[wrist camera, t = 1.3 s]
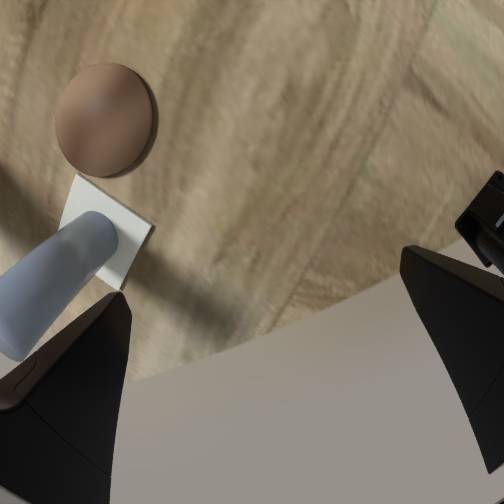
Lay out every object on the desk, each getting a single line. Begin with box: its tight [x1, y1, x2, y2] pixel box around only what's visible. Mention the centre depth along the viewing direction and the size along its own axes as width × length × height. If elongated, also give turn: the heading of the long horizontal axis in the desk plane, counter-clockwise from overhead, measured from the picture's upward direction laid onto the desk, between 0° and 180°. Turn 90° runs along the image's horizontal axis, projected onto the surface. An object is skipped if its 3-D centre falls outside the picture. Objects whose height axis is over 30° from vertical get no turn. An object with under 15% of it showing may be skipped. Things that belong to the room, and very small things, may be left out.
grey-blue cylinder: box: [0, 211, 118, 362], centre depth 18 cm, size 5×5×13 cm
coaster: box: [55, 63, 153, 177], centre depth 19 cm, size 9×9×1 cm
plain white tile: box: [58, 173, 153, 290], centre depth 24 cm, size 8×8×1 cm
